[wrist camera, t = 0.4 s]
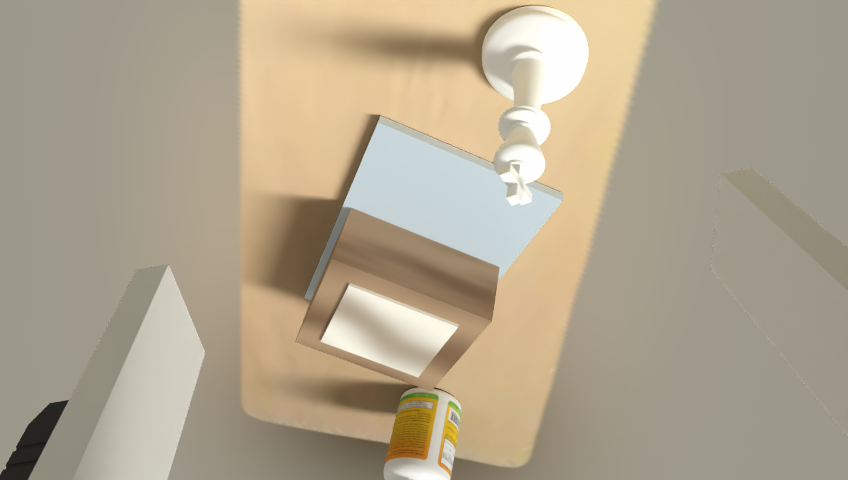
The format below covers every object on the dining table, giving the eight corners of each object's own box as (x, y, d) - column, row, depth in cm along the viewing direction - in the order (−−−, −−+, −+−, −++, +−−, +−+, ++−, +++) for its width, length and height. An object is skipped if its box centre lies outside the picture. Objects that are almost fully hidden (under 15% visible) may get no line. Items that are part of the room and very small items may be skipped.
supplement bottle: (390, 401, 59) (363, 511, 52) (417, 377, 55) (392, 493, 48) (443, 423, 60) (423, 533, 54) (473, 402, 56) (456, 517, 50)
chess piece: (514, 112, 34) (490, 258, 27) (462, 35, 31) (422, 176, 25) (606, 72, 31) (604, 223, 25) (557, -15, 29) (542, 127, 22)
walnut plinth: (353, 200, 41) (330, 261, 37) (500, 260, 42) (491, 323, 39) (316, 287, 48) (294, 344, 45) (442, 334, 50) (430, 393, 46)
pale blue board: (380, 115, 36) (378, 122, 35) (563, 193, 37) (562, 200, 37) (306, 291, 49) (303, 298, 48) (443, 343, 50) (442, 350, 50)
